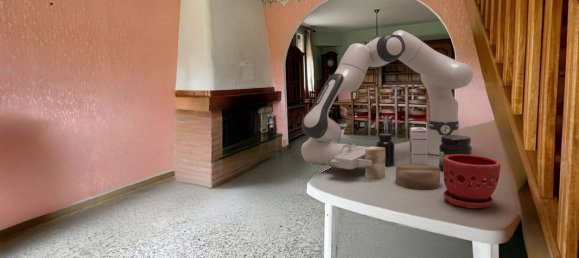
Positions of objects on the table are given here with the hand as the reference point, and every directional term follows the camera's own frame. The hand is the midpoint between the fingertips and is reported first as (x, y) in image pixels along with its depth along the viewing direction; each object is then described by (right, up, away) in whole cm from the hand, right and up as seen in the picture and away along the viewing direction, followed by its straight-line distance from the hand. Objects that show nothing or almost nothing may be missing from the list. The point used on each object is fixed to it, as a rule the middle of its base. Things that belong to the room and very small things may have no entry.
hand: (377, 160), depth 115 cm
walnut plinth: (+11, -7, -7) cm, 15 cm away
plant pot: (+18, -9, -25) cm, 32 cm away
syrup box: (+19, -4, +14) cm, 24 cm away
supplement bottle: (+7, -4, +18) cm, 19 cm away
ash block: (-1, -6, +1) cm, 6 cm away
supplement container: (+29, -4, +7) cm, 30 cm away
